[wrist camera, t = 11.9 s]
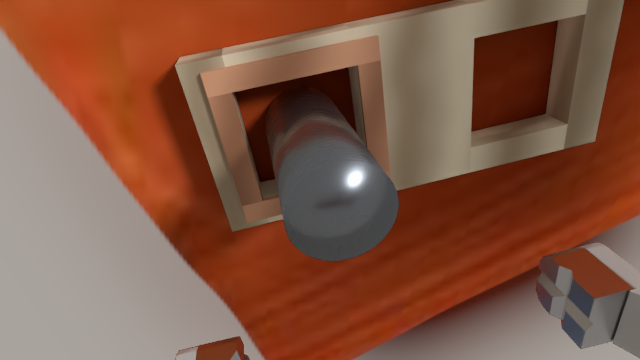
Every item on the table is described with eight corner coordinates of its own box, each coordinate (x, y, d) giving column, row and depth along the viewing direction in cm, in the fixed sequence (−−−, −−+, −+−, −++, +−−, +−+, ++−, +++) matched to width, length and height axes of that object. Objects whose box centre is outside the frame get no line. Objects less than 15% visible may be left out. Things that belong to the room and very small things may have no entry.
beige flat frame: (599, -30, 22) (635, -30, 20) (572, 130, 27) (598, 143, 25) (179, 57, 20) (173, 66, 18) (232, 213, 25) (232, 234, 23)
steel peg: (332, 78, 22) (394, 148, 14) (342, 147, 25) (401, 244, 16) (256, 95, 22) (271, 177, 13) (273, 163, 24) (296, 272, 16)
